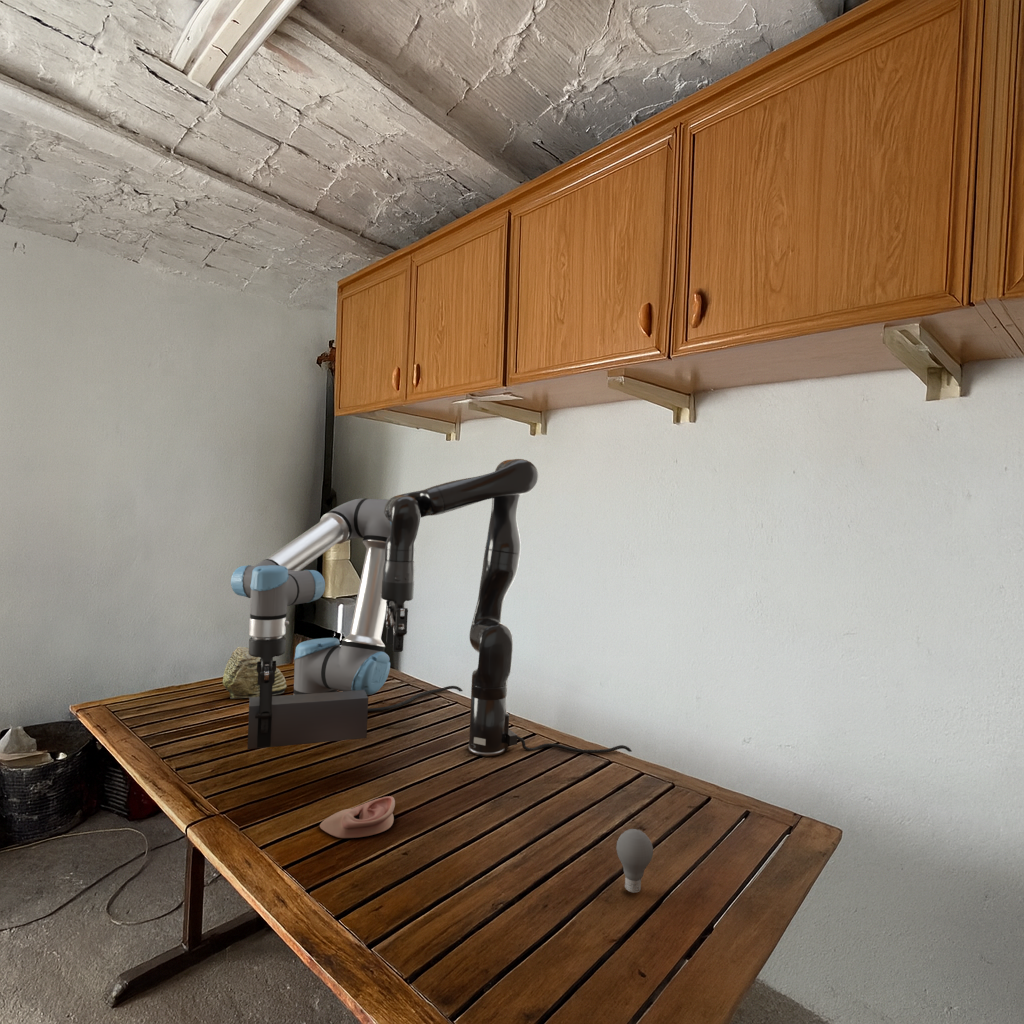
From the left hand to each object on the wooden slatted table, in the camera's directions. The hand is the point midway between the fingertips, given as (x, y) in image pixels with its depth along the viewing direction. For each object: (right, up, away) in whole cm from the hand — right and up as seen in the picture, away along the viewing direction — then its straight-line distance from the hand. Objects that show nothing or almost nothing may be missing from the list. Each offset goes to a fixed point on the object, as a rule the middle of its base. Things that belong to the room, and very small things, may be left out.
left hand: (263, 740), depth 140 cm
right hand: (+27, +18, +11) cm, 34 cm away
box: (+9, -1, +3) cm, 9 cm away
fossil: (-26, -7, +58) cm, 64 cm away
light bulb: (+75, -13, -34) cm, 83 cm away
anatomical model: (+25, -11, -17) cm, 32 cm away
